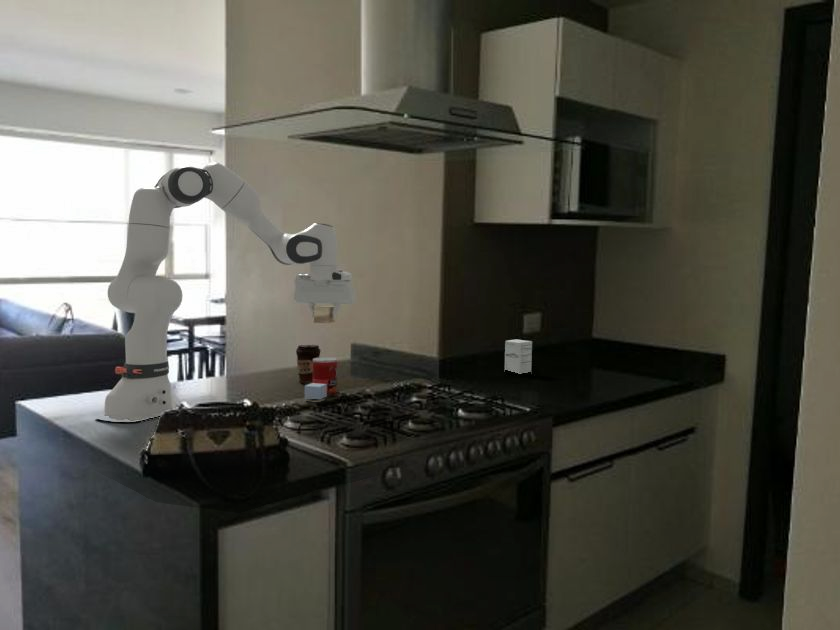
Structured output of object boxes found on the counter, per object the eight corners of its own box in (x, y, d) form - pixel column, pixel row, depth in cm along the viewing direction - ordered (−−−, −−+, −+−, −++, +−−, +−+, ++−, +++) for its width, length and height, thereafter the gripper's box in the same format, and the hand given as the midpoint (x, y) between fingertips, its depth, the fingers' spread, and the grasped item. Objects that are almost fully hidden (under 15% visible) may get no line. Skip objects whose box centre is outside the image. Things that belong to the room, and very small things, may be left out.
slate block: (319, 403, 228) (319, 386, 228) (304, 402, 230) (304, 385, 229) (326, 399, 233) (326, 384, 232) (312, 398, 234) (311, 383, 234)
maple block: (328, 323, 239) (328, 307, 239) (314, 322, 241) (313, 307, 240) (334, 321, 244) (334, 306, 244) (320, 321, 246) (320, 306, 245)
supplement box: (503, 374, 280) (504, 340, 279) (516, 371, 285) (517, 338, 284) (519, 376, 275) (519, 342, 274) (532, 374, 280) (532, 340, 279)
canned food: (333, 395, 240) (332, 361, 239) (309, 394, 242) (309, 360, 241) (340, 390, 247) (340, 357, 246) (317, 389, 249) (317, 356, 248)
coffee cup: (313, 385, 256) (312, 347, 255) (291, 383, 259) (291, 346, 258) (324, 381, 264) (324, 344, 263) (303, 379, 267) (303, 343, 266)
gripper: (290, 274, 241) (290, 317, 242) (349, 275, 235) (349, 319, 236) (299, 273, 247) (299, 315, 248) (356, 274, 241) (357, 317, 242)
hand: (324, 317), depth 242 cm, fingers closed on maple block, 5 cm apart
